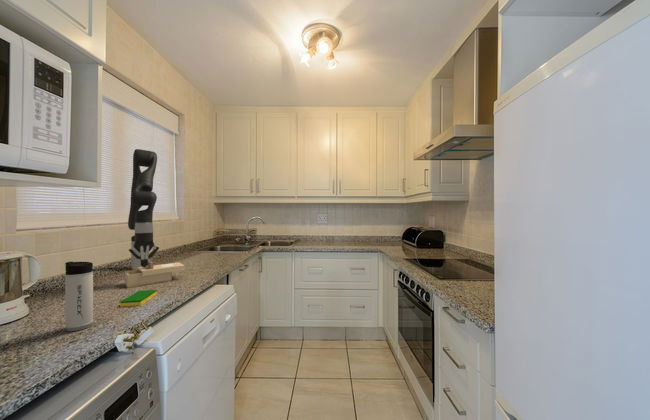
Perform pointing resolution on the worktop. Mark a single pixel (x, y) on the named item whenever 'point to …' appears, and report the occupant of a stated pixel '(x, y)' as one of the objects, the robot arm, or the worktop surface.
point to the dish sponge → (138, 298)
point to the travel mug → (78, 295)
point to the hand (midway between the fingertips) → (144, 266)
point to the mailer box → (145, 278)
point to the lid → (160, 268)
